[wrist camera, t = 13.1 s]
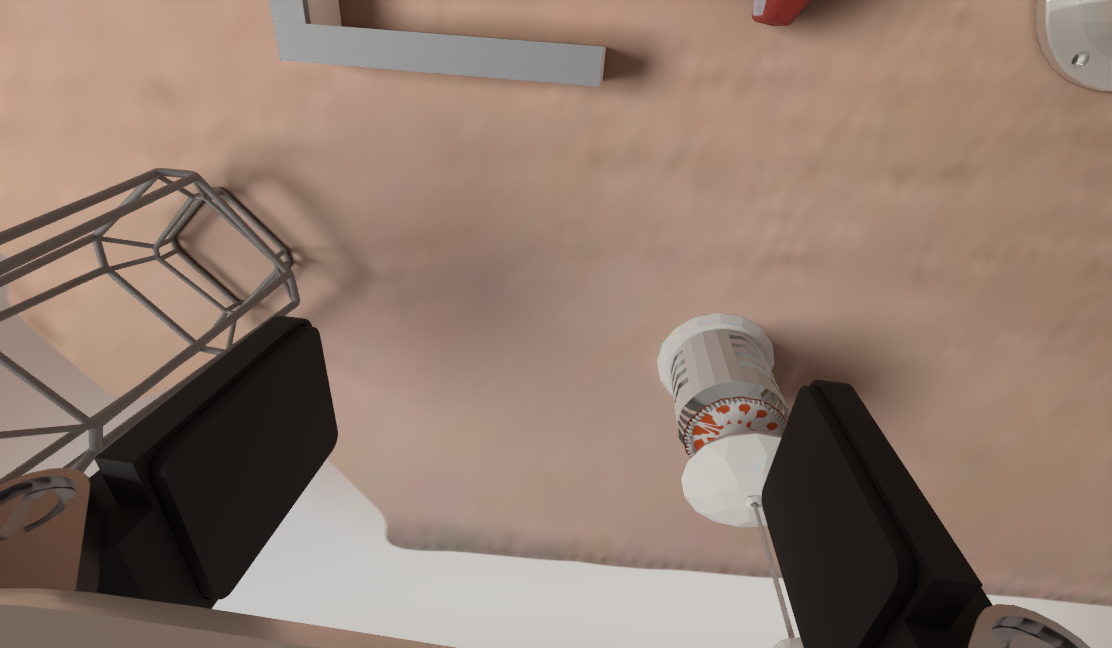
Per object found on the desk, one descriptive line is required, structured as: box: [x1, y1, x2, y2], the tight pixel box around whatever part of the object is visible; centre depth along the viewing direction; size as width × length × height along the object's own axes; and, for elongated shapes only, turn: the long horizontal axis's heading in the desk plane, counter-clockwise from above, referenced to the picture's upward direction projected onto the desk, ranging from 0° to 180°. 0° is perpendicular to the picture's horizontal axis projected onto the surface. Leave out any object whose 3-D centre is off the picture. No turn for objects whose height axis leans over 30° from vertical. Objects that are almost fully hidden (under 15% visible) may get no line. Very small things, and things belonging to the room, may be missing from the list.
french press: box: [657, 313, 804, 648], centre depth 34 cm, size 10×12×25 cm
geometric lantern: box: [0, 168, 300, 485], centre depth 29 cm, size 16×16×35 cm
